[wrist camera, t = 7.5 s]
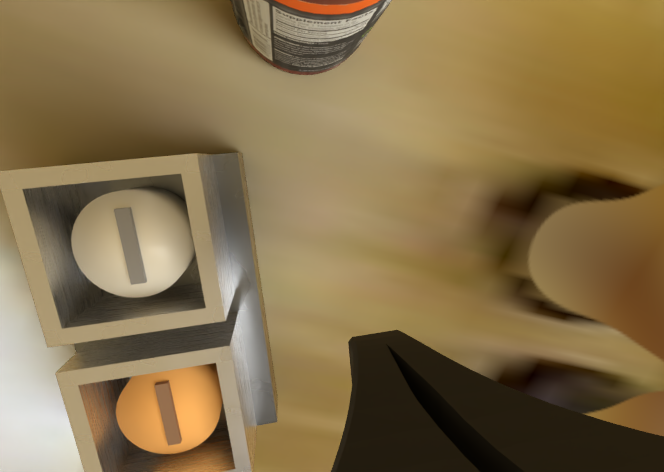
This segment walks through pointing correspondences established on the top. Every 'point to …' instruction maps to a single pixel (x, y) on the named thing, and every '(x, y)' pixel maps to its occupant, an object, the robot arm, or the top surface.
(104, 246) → the cream knob
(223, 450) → the knob mount
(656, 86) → the top surface
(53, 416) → the top surface
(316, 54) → the supplement bottle
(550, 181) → the top surface
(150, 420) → the orange knob
